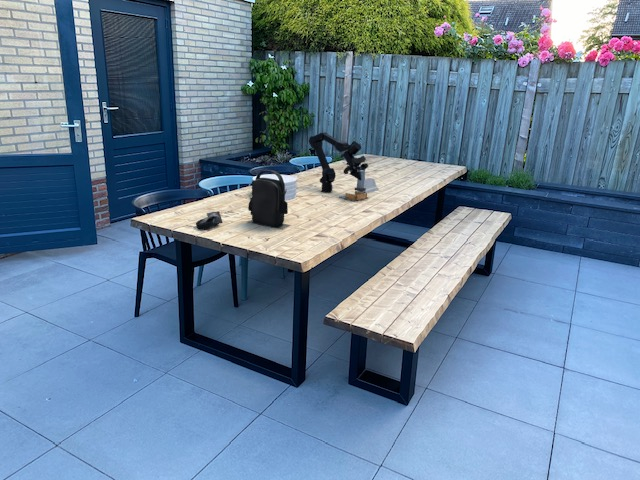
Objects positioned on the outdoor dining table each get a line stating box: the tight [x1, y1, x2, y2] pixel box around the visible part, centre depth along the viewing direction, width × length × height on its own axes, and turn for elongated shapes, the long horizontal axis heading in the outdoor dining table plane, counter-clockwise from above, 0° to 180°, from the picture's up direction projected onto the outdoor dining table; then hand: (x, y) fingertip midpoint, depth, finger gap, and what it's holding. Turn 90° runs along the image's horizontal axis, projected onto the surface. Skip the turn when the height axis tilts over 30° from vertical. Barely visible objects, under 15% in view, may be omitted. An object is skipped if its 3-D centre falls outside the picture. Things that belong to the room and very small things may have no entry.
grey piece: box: [354, 169, 366, 192], centre depth 303 cm, size 5×5×13 cm
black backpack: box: [246, 169, 292, 230], centre depth 245 cm, size 23×9×28 cm, turn 60°
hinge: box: [361, 177, 379, 194], centre depth 331 cm, size 17×5×10 cm, turn 142°
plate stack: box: [252, 173, 298, 202], centre depth 307 cm, size 28×28×12 cm
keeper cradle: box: [338, 190, 369, 202], centre depth 310 cm, size 13×14×4 cm
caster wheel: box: [195, 210, 224, 231], centre depth 239 cm, size 7×11×10 cm
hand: (362, 179), depth 302 cm, fingers closed on grey piece, 3 cm apart
